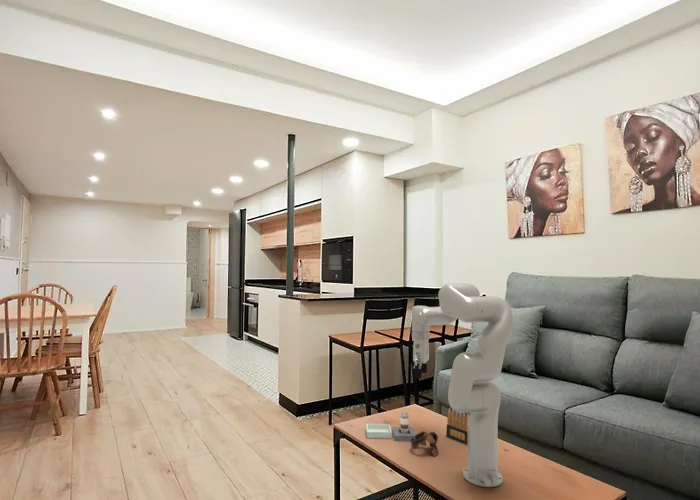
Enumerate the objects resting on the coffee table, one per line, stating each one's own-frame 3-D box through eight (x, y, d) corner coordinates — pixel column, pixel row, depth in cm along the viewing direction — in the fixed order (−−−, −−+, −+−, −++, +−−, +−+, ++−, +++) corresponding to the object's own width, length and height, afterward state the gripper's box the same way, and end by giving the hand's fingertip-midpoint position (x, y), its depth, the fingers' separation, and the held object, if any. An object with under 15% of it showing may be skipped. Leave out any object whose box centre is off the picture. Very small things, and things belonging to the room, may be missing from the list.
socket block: (417, 441, 163) (417, 436, 163) (394, 440, 163) (394, 435, 163) (413, 432, 172) (413, 427, 172) (392, 431, 172) (392, 427, 172)
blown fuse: (408, 438, 166) (409, 415, 166) (400, 438, 166) (401, 415, 166) (407, 434, 169) (407, 412, 170) (399, 434, 169) (400, 412, 170)
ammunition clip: (471, 444, 161) (471, 413, 162) (468, 445, 160) (468, 414, 160) (448, 435, 169) (448, 406, 170) (446, 436, 168) (446, 407, 169)
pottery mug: (432, 462, 147) (420, 440, 148) (414, 465, 153) (403, 444, 154) (448, 443, 155) (437, 423, 157) (430, 447, 161) (420, 427, 163)
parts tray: (391, 438, 165) (391, 432, 165) (367, 438, 165) (367, 432, 165) (389, 430, 174) (389, 424, 174) (366, 429, 174) (366, 423, 174)
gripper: (424, 338, 165) (424, 381, 164) (433, 332, 180) (433, 371, 180) (406, 337, 168) (406, 379, 167) (417, 331, 183) (416, 369, 183)
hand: (420, 375), depth 173 cm, fingers open, 9 cm apart
